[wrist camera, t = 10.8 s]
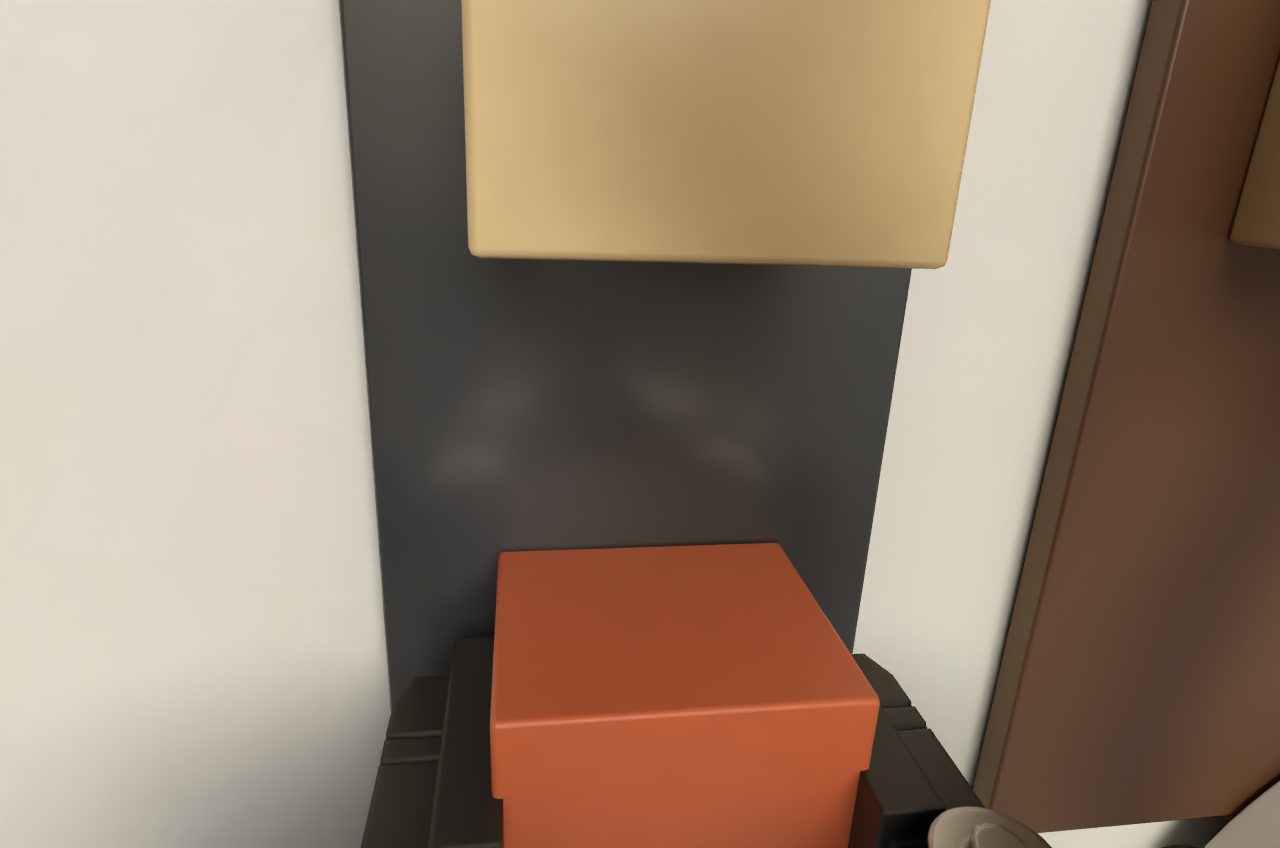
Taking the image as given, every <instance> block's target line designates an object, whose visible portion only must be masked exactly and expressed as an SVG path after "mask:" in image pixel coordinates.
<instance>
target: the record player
mask: <svg viewBox="0 0 1280 848" xmlns="http://www.w3.org/2000/svg"><path fill="white" fill-rule="evenodd" d="M1204 848H1280V781H1279V782H1277V783H1276V784H1275V785H1273V786H1272V787H1271V788H1269V789H1268V790H1267V791H1265V792H1264V793H1263V794H1262V795H1260V796H1259V797H1258V798H1257V799H1255V800H1254V801H1253V802H1252V803H1251V804H1249V805H1248V806H1247V807H1246V808H1245V809H1243V810H1242V811H1241V812H1240V813H1239V814H1238V815H1237V816H1236V817H1234V818H1233V819H1232V820H1231V821H1230V822H1229V823H1228V824H1227V825H1226V826H1225V827H1224V828H1223V829H1222V830H1221V831H1220V832H1219V833H1218V834H1217V835H1216V836H1215V837H1214V838H1213V839H1212V840H1211V841H1210V842H1209V843H1208V844H1207V845H1206V846H1205V847H1204Z"/></svg>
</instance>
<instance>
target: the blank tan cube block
mask: <svg viewBox="0 0 1280 848" xmlns="http://www.w3.org/2000/svg"><path fill="white" fill-rule="evenodd" d="M990 2H991V0H461V5H462V41H463V76H464V112H465V148H466V184H467V219H468V248H469V250H470V252H471V254H472V255H474V256H476V257H478V258H500V259H542V260H584V261H625V262H667V263H709V264H751V265H793V266H835V267H876V268H918V269H937V268H939V267H942V266H944V265H945V263H946V261H947V257H948V252H949V246H950V240H951V234H952V228H953V222H954V216H955V210H956V204H957V198H958V192H959V186H960V180H961V174H962V168H963V162H964V156H965V150H966V144H967V138H968V133H969V127H970V121H971V115H972V109H973V103H974V97H975V91H976V85H977V79H978V73H979V67H980V61H981V55H982V49H983V43H984V37H985V31H986V25H987V19H988V14H989V8H990Z"/></svg>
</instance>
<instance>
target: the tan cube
mask: <svg viewBox="0 0 1280 848" xmlns="http://www.w3.org/2000/svg"><path fill="white" fill-rule="evenodd" d="M1229 239H1230V241H1232V242H1233V243H1236V244H1243V245H1250V246H1258V247H1265V248H1272V249H1280V58H1279V62H1278V65H1277V69H1276V72H1275V76H1274V80H1273V83H1272V87H1271V90H1270V94H1269V97H1268V101H1267V105H1266V108H1265V112H1264V115H1263V119H1262V122H1261V126H1260V129H1259V133H1258V137H1257V140H1256V144H1255V147H1254V151H1253V154H1252V158H1251V161H1250V165H1249V169H1248V172H1247V176H1246V179H1245V183H1244V186H1243V190H1242V193H1241V197H1240V201H1239V204H1238V208H1237V211H1236V215H1235V218H1234V222H1233V225H1232V229H1231V233H1230V236H1229Z"/></svg>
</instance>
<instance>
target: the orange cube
mask: <svg viewBox="0 0 1280 848" xmlns="http://www.w3.org/2000/svg"><path fill="white" fill-rule="evenodd" d="M879 706H880V700H879V697H878V695H877V694H876V692H875V691H874V689H873V688H872V686H871V685H870V683H869V681H868V680H867V678H866V677H865V675H864V674H863V672H862V671H861V669H860V668H859V666H858V665H857V663H856V661H855V660H854V658H853V657H852V655H851V654H850V652H849V651H848V649H847V648H846V646H845V645H844V643H843V641H842V640H841V638H840V637H839V635H838V634H837V632H836V631H835V629H834V628H833V626H832V625H831V623H830V621H829V620H828V618H827V617H826V615H825V614H824V612H823V611H822V609H821V608H820V606H819V605H818V603H817V602H816V600H815V598H814V597H813V595H812V594H811V592H810V591H809V589H808V588H807V586H806V585H805V583H804V582H803V580H802V578H801V577H800V575H799V574H798V572H797V571H796V569H795V568H794V566H793V565H792V563H791V562H790V560H789V558H788V557H787V555H786V554H785V552H784V551H783V549H782V548H781V546H780V545H779V544H778V543H751V544H721V545H691V546H661V547H631V548H600V549H570V550H540V551H510V552H501V553H500V555H499V557H498V575H497V595H496V614H495V634H494V653H493V673H492V692H491V712H490V752H491V788H492V795H493V797H494V798H497V799H503V813H504V848H848V842H849V836H850V830H851V824H852V818H853V812H854V806H855V800H856V794H857V788H858V782H859V776H860V771H865V770H867V769H869V765H870V759H871V753H872V747H873V741H874V735H875V729H876V723H877V717H878V712H879Z"/></svg>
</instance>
